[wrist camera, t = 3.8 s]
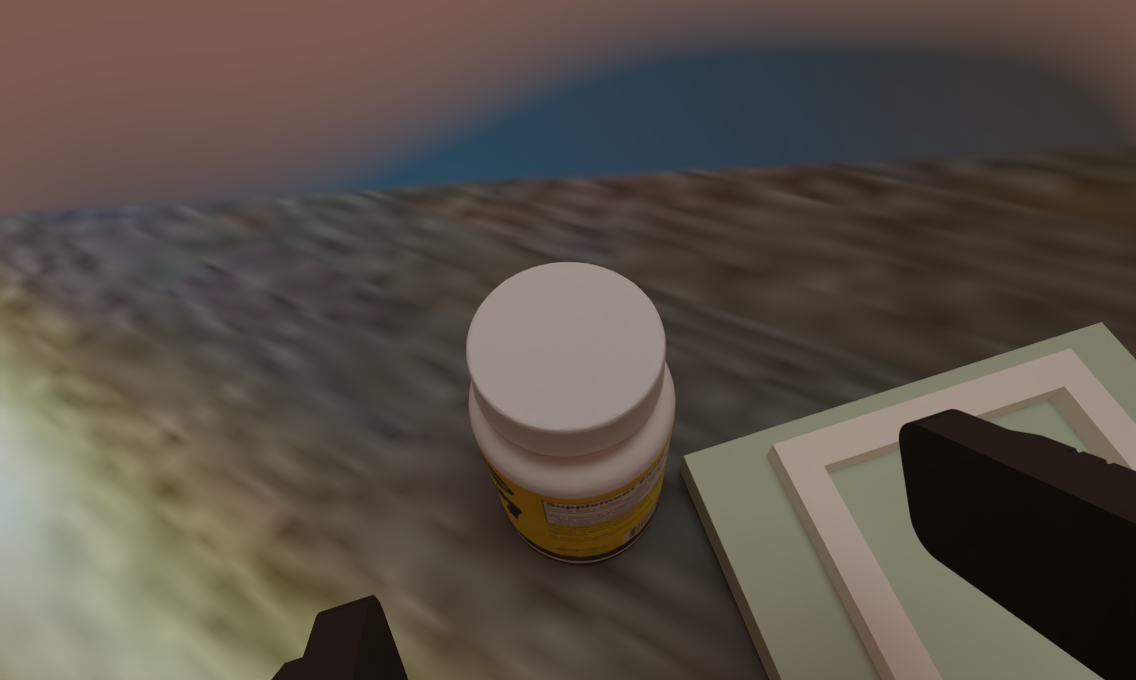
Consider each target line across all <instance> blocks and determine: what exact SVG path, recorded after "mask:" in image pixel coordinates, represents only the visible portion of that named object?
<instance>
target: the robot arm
mask: <svg viewBox="0 0 1136 680" xmlns="http://www.w3.org/2000/svg"><path fill="white" fill-rule="evenodd" d="M899 447H900V454H901V460H902V467H903V474H904V480H905V487H906V494H907V500H908V507H909V514H910V519H911V523H912V526H913V528H914V531H915V533H916V535H917V537H918V539H919V540H920V542H921V544H922V545H923V546H924V548H925V549H926V550H927V551H928V553H929V554H930V555H931V556H932V557H934V558H935V559H936V560H937V561H939V562H940V563H942V564H943V565H944V566H946V567H947V568H949V569H950V570H951V571H953V572H954V573H956V574H957V575H958V576H960V577H961V578H963V579H964V580H965V581H967V582H968V583H970V584H971V585H972V586H974V587H975V588H977V589H978V590H979V591H981V592H982V593H984V594H985V595H986V596H988V597H989V598H991V599H992V600H993V601H995V602H996V603H998V604H999V605H1000V606H1002V607H1003V608H1005V609H1006V610H1007V611H1009V612H1010V613H1012V614H1013V615H1014V616H1016V617H1017V618H1019V619H1020V620H1021V621H1023V622H1024V623H1026V624H1027V625H1028V626H1030V627H1031V628H1033V629H1034V630H1035V631H1037V632H1038V633H1040V634H1041V635H1042V636H1044V637H1045V638H1047V639H1048V640H1049V641H1051V642H1052V643H1054V644H1055V645H1056V646H1058V647H1059V648H1061V649H1062V650H1063V651H1065V652H1066V653H1068V654H1069V655H1070V656H1072V657H1073V658H1075V659H1076V660H1077V661H1079V662H1080V663H1082V664H1083V665H1084V666H1086V667H1087V668H1089V669H1090V670H1091V671H1093V672H1094V673H1096V674H1097V675H1098V676H1100V677H1101V678H1103V679H1104V680H1136V471H1135V470H1132V469H1129V468H1127V467H1124V466H1121V465H1119V464H1116V463H1111V464H1108V463H1107V462H1106V459H1103V458H1100V457H1098V456H1095V455H1092V454H1090V453H1087V452H1084V451H1082V452H1078V451H1077V450H1076V448H1074V447H1071V446H1069V445H1066V444H1063V443H1061V442H1058V441H1055V440H1053V439H1050V438H1047V437H1045V436H1042V435H1038V434H1032V433H1026V432H1020V431H1014V430H1009V429H1006V428H1004V427H1001V426H999V425H996V424H994V423H991V422H988V421H986V420H983V419H981V418H978V417H976V416H973V415H970V414H968V413H965V412H963V411H960V410H957V409H949V410H945V411H942V412H939V413H936V414H933V415H930V416H927V417H924V418H921V419H918V420H915V421H911V422H908V423H906V424H904V425H903V426H902V427H901V429H900V432H899ZM272 680H408V678H407V675H406V672H405V669H404V667H403V664H402V661H401V658H400V655H399V653H398V650H397V647H396V644H395V642H394V639H393V636H392V633H391V630H390V628H389V625H388V622H387V619H386V617H385V614H384V611H383V609H382V606H381V604H380V602H379V601H378V599H377V598H376V597H375V596H374V595H371V596H368V597H365V598H362V599H359V600H356V601H353V602H350V603H347V604H343V605H340V606H337V607H334V608H331V609H328V610H325V611H322V612H320V613H318V615H317V616H316V619H315V622H314V625H313V628H312V631H311V634H310V637H309V640H308V643H307V646H306V649H305V652H304V655H303V657H302V658H299V659H296V660H293V661H290V662H287V663H285V664H284V665H283V666H282V667H281V669H280V670H279V671H278V672H277V673H276V675H275V676H274V677H273V678H272Z"/></svg>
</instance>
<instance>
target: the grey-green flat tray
mask: <svg viewBox="0 0 1136 680" xmlns="http://www.w3.org/2000/svg"><path fill="white" fill-rule="evenodd" d="M949 409H957V410H960V411H963V412H965V413H968V414H970V415H973V416H976V417H978V418H981V419H983V420H986V421H988V422H991V423H994V424H996V425H999V426H1001V427H1004V428H1006V429H1009V430H1014V431H1020V432H1026V433H1032V434H1038V435H1042V436H1045V437H1047V438H1050V439H1053V440H1055V441H1058V442H1061V443H1063V444H1066V445H1069V446H1071V447H1074V448H1076V450H1077V451H1078V452H1082V451H1084V452H1087V453H1090V454H1092V455H1095V456H1098V457H1100V458H1103V459H1106V462H1107V463H1108V464H1111V463H1116V464H1119V465H1121V466H1124V467H1127V468H1129V469H1132V470H1135V471H1136V360H1135V358H1134V357H1133V356H1132V355H1131V354H1130V353H1129V352H1128V351H1127V350H1126V349H1125V347H1124V346H1123V345H1122V344H1121V343H1120V342H1119V341H1118V340H1117V339H1116V338H1115V336H1114V335H1113V334H1112V333H1111V332H1110V331H1109V330H1108V329H1107V328H1106V327H1105V326H1104V324H1103V323H1102V322H1101V323H1098V324H1095V325H1091V326H1088V327H1085V328H1082V329H1079V330H1076V331H1073V332H1070V333H1066V334H1063V335H1060V336H1057V337H1054V338H1051V339H1048V340H1045V341H1041V342H1038V343H1035V344H1032V345H1029V346H1026V347H1023V348H1020V349H1016V350H1013V351H1010V352H1007V353H1004V354H1001V355H998V356H995V357H991V358H988V359H985V360H982V361H979V362H976V363H973V364H970V365H966V366H963V367H960V368H957V369H954V370H951V371H948V372H945V373H941V374H938V375H935V376H932V377H929V378H926V379H923V380H920V381H916V382H913V383H910V384H907V385H904V386H901V387H898V388H895V389H891V390H888V391H885V392H882V393H879V394H876V395H873V396H870V397H866V398H863V399H860V400H857V401H854V402H851V403H848V404H845V405H841V406H838V407H835V408H832V409H829V410H826V411H823V412H820V413H816V414H813V415H810V416H807V417H804V418H801V419H798V420H795V421H791V422H788V423H785V424H782V425H779V426H776V427H773V428H770V429H766V430H763V431H760V432H757V433H754V434H751V435H748V436H745V437H741V438H738V439H735V440H732V441H729V442H726V443H723V444H720V445H716V446H713V447H710V448H707V449H704V450H701V451H698V452H695V453H691V454H688V455H685V456H684V457H683V461H682V465H681V469H680V473H681V475H682V477H683V480H684V482H685V484H686V487H687V489H688V492H689V494H690V496H691V499H692V501H693V503H694V506H695V508H696V510H697V513H698V515H699V517H700V520H701V522H702V524H703V527H704V529H705V531H706V534H707V536H708V538H709V541H710V543H711V545H712V548H713V550H714V552H715V555H716V557H717V559H718V562H719V564H720V566H721V569H722V571H723V573H724V576H725V578H726V580H727V583H728V585H729V587H730V590H731V592H732V594H733V597H734V599H735V601H736V604H737V606H738V608H739V611H740V613H741V615H742V618H743V620H744V622H745V625H746V627H747V629H748V632H749V634H750V636H751V639H752V641H753V643H754V646H755V648H756V650H757V653H758V655H759V657H760V660H761V662H762V664H763V667H764V669H765V671H766V674H767V676H768V678H769V680H1104V679H1103V678H1101V677H1100V676H1098V675H1097V674H1096V673H1094V672H1093V671H1091V670H1090V669H1089V668H1087V667H1086V666H1084V665H1083V664H1082V663H1080V662H1079V661H1077V660H1076V659H1075V658H1073V657H1072V656H1070V655H1069V654H1068V653H1066V652H1065V651H1063V650H1062V649H1061V648H1059V647H1058V646H1056V645H1055V644H1054V643H1052V642H1051V641H1049V640H1048V639H1047V638H1045V637H1044V636H1042V635H1041V634H1040V633H1038V632H1037V631H1035V630H1034V629H1033V628H1031V627H1030V626H1028V625H1027V624H1026V623H1024V622H1023V621H1021V620H1020V619H1019V618H1017V617H1016V616H1014V615H1013V614H1012V613H1010V612H1009V611H1007V610H1006V609H1005V608H1003V607H1002V606H1000V605H999V604H998V603H996V602H995V601H993V600H992V599H991V598H989V597H988V596H986V595H985V594H984V593H982V592H981V591H979V590H978V589H977V588H975V587H974V586H972V585H971V584H970V583H968V582H967V581H965V580H964V579H963V578H961V577H960V576H958V575H957V574H956V573H954V572H953V571H951V570H950V569H949V568H947V567H946V566H944V565H943V564H942V563H940V562H939V561H937V560H936V559H935V558H934V557H932V556H931V555H930V554H929V553H928V551H927V550H926V549H925V548H924V546H923V545H922V544H921V542H920V540H919V539H918V537H917V535H916V533H915V531H914V528H913V526H912V523H911V519H910V514H909V507H908V500H907V494H906V487H905V480H904V474H903V467H902V460H901V454H900V447H899V432H900V429H901V427H902V426H903V425H904V424H906V423H908V422H911V421H915V420H918V419H921V418H924V417H927V416H930V415H933V414H936V413H939V412H942V411H945V410H949Z"/></svg>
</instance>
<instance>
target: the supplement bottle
mask: <svg viewBox="0 0 1136 680" xmlns="http://www.w3.org/2000/svg"><path fill="white" fill-rule="evenodd" d="M665 355H666V340H665V332H664V328H663V325H662V322H661V319H660V316H659V314H658V312H657V310H656V308H655V307H654V305H653V304H652V302H651V300H650V299H649V298H648V297H647V296H646V294H645V293H644V292H643V291H642V290H641V289H640V288H639V287H637V286H636V285H635V284H634V283H632V282H631V281H630V280H628V279H627V278H625V277H623V276H621V275H619V274H618V273H616V272H613V271H611V270H609V269H606V268H603V267H599V266H596V265H592V264H586V263H576V262H559V263H551V264H546V265H540V266H537V267H533V268H531V269H528V270H525V271H522V272H520V273H518V274H517V275H515V276H513V277H511V278H509V279H507V280H506V281H505V282H503V283H502V284H501V285H499V286H498V287H497V288H496V289H495V290H494V291H493V292H492V293H491V294H490V295H489V296H488V297H487V298H486V299H485V300H484V301H483V303H482V304H481V305H480V307H479V309H478V310H477V312H476V314H475V315H474V318H473V320H472V323H471V325H470V329H469V332H468V336H467V345H466V358H467V365H468V370H469V373H470V377H471V385H470V391H469V413H470V420H471V426H472V429H473V433H474V436H475V438H476V441H477V443H478V446H479V448H480V450H481V453H482V456H483V458H484V460H485V463H486V465H487V467H488V470H489V472H490V475H491V477H492V479H493V482H494V484H495V487H496V489H497V492H498V494H499V496H500V499H501V501H502V504H503V506H504V508H505V510H506V513H507V515H508V517H509V519H510V521H511V523H512V525H513V526H514V528H515V529H516V531H517V532H518V533H519V535H520V536H521V537H522V538H523V539H524V540H525V541H526V542H527V543H528V544H529V545H530V546H532V547H533V548H534V549H536V550H537V551H539V552H540V553H542V554H544V555H546V556H549V557H551V558H554V559H557V560H560V561H565V562H571V563H591V562H596V561H601V560H604V559H607V558H610V557H612V556H615V555H617V554H619V553H620V552H622V551H624V550H625V549H627V548H628V547H629V546H631V545H632V544H633V543H634V542H636V541H637V540H638V539H639V537H640V536H641V535H642V534H643V533H644V531H645V530H646V529H647V527H648V526H649V524H650V522H651V521H652V519H653V516H654V514H655V511H656V508H657V505H658V501H659V497H660V492H661V487H662V482H663V476H664V471H665V466H666V460H667V455H668V449H669V443H670V438H671V433H672V428H673V423H674V415H675V391H674V385H673V380H672V377H671V374H670V371H669V368H668V366H667V363H666V361H665Z"/></svg>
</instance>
